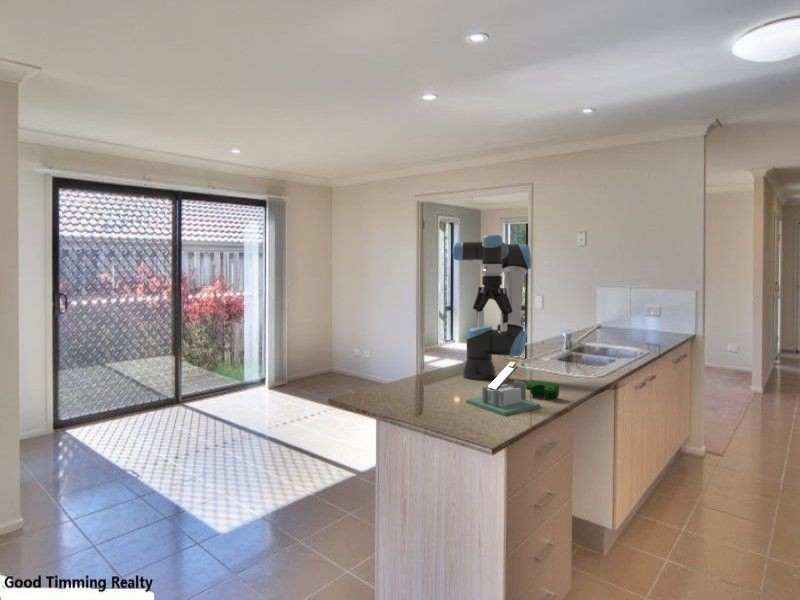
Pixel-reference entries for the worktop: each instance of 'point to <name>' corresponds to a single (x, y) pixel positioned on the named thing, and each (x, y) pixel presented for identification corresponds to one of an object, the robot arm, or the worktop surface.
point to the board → (504, 408)
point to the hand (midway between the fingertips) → (491, 329)
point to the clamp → (543, 389)
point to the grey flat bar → (503, 376)
